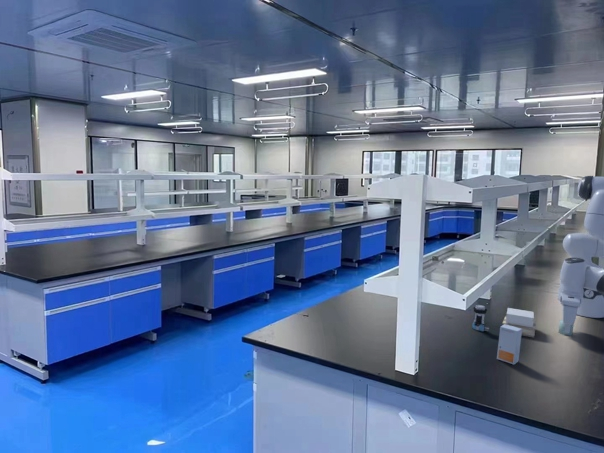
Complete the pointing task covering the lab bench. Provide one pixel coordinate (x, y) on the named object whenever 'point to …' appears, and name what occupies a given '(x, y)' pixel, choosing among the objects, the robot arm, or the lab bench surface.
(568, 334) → the pale blue egg shape
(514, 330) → the skincare box
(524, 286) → the lab bench surface
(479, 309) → the push button
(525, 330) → the maple base block
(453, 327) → the lab bench surface
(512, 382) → the lab bench surface
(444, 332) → the lab bench surface
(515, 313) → the white top block
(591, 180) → the robot arm
